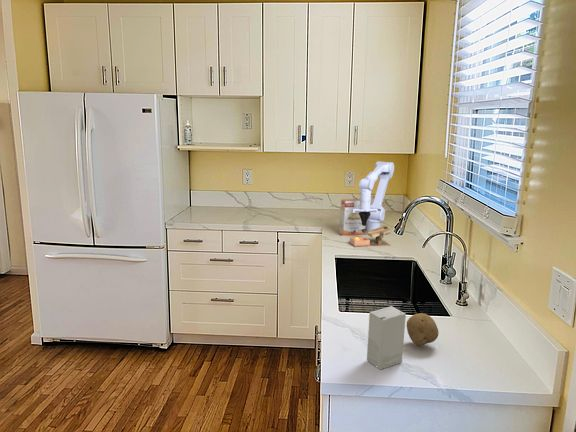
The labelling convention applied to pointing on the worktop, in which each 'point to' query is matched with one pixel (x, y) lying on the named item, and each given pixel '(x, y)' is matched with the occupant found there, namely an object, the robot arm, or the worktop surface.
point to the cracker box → (350, 218)
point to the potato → (422, 329)
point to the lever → (377, 231)
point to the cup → (360, 241)
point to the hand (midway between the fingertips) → (363, 225)
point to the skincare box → (386, 337)
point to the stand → (376, 242)
